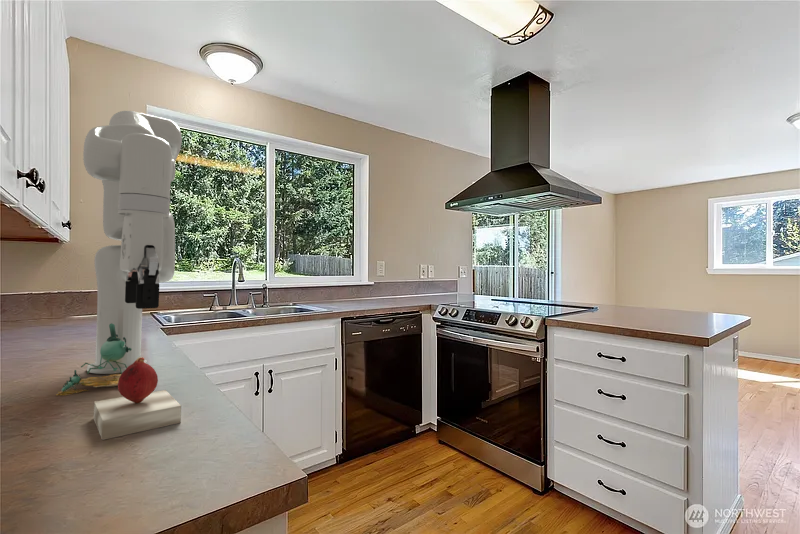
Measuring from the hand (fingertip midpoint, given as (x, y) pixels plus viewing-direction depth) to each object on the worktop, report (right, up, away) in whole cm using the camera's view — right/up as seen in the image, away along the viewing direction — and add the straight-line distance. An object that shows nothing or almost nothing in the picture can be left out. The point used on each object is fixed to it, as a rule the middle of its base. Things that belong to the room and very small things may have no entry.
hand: (141, 305), depth 69 cm
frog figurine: (-20, -20, +19) cm, 34 cm away
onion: (-1, -17, 0) cm, 17 cm away
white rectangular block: (-1, -20, 0) cm, 20 cm away
